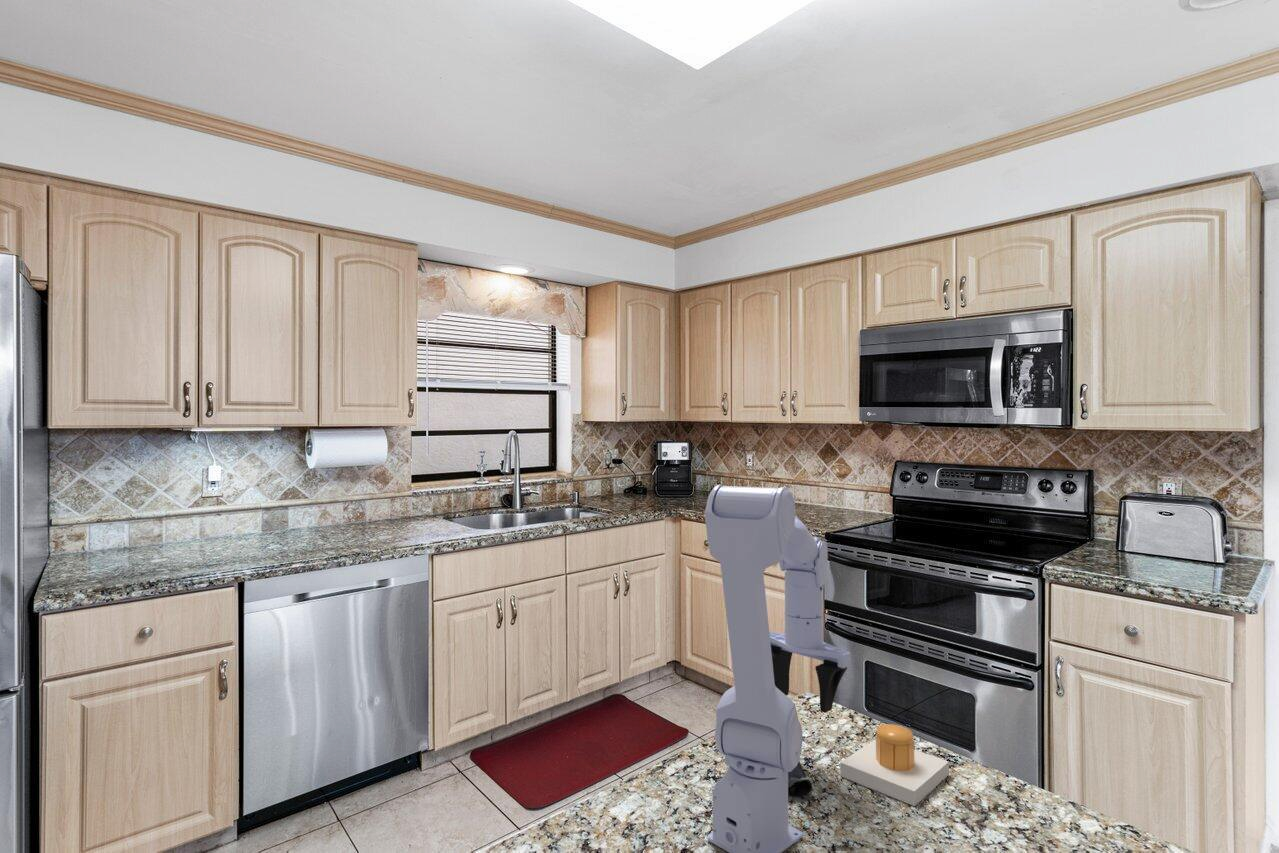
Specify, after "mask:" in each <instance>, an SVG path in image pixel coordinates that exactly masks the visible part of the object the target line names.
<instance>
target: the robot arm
mask: <svg viewBox="0 0 1279 853" xmlns="http://www.w3.org/2000/svg"><path fill="white" fill-rule="evenodd" d="M704 520H705V528H706V537H707V544H708V549H709V550H708V551H709V555H710V556H711V557H712V558H713V559H714V560H716V561H717V562H718V563H719V564H720V573H721V581H722V589H723V598H724V607H725V615H726V624H727V632H728V633H727V634H728V640H729V650H730V655H731V656H730V658H731V666H732V675H733V682H734V685H733V686H731V687H730V688H729V689H727V690H726V691H725V692H724V693H723V694H722V696H721V698H720V699H719V702H718V704H717V707H716V709H715V713H716V714H715V715H716V716H715V717H716V719H715V721H716V722H715V729H714V730H715V731H714V732H715V733H714V740H715V744H716V747H717V750H718V752H719V754H721V755H723V756H724V764H725V765H726V766H728V768H727V770H726V773H725V774H724V775H723V776H722V778H721V779H720V780H719V781H717V783H716V784H715V786H714V788H713V791H712V831H711V832H710V833H708V834H707V841H709V842H710V843H712V844H714V845H715V846H717V847H718V848H721V849H722V850H724V851H726V852H728V853H783V852H784V851H786V850H787V849H788V848H790V847H791V846H792V845H794V844H795V843H796V842H798V841H799V840H800V839H801V838H803V836H804V835H803V831H801V830H799V829H797V828H795V827H794V826H792V825H789V796H788V788H789V786H788V772H791V771H792V770H793V769H794V768H795V767H796V766H797V764H798V762H799V761H800V758H801V754H802V747H803V727H802V726H803V725H802V724H801V722H800V719H799V715H798V710H797V708H796V703H795V702H794V701H793V700H792V699H791V698H790V697H789V694H790V693H789V691H790V670H791V669H790V667H791V662H792V657H793V654H797V655H800V656H803V657H807V658H810V659H811V658H812V659H814V660H818V661H822V662H823V663H820V664H817V665H815V671H816V672H815V673H816V675H817V680H818V686H819V708H820V709H819V710H820V712H821V713H825V714H826V713H829V712H830V711H832V709H833V705H834V699H835V696H836V693H837V690H838V687H839V684H840V682H841V680H842V678H843V676H844V674H845V673H846V671H847V669H848V667H849V666H850V667H851V651H847V650H844V649H841V648H838V647H837V646H836V647H835V646H833V645H832V644H829V643H827V642H825V641H824V605H823V604H824V601H823V600H824V595H823V594H824V592H823V591H824V590H823V589H824V585H825V584H826V575H827V574H826V571H827V564H828V557H829V556H828V553H829V552H828V544H827V542H826V541H825V540H822V539H821V537H819V536H813V534H812V533H811V532H810V530H809V529H808V528H807V527H806V525H805V524H804V523H803V521H802V520H801V519H800V518H799V517H798V515H796V500H795V497H794V494H793V493H792V492H791V490H790V489H789V488H788V487H786V486H780V487H762V486H758V487H757V486H735V485H733V486H731V485H725V484H716V485H715V486H714V487H713V488H712V490H711V491H710V493H709V495H708V497H707V501H706V507H705V510H704ZM777 564H779V568H780V571H782V572H784V633H779V632H778V633H777V632H771V631H770V627H769V617H768V616H769V615H768V606H767V597H766V596H767V595H766V587H765V585H766V584H765V578H764V577H765V576H764V573H765V571H766V569H768V568H770V567H773V566H775V565H777Z"/></svg>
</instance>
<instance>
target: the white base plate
mask: <svg viewBox="0 0 1279 853" xmlns="http://www.w3.org/2000/svg"><path fill="white" fill-rule="evenodd" d="M839 767H840V772H839V774H840V777H842V778H844V779H847V780H849V781H852V782H853V783H856V784H859V785H861V786H864V787H866V788H869V789H871V790H874V791H876V792H879V793H881V794H883V795H886V796H888V797H890V798H893V799H895V800H897V801H900V802H903V803H906V804H907V805H910V806H912V807H915V806H916V805H918V804H919V803H920V802H921V801H922V800H924V798H925V797H927V796H928V795H929V794H930V793H932V791H933V790H934V789H936V788H937V787H938V786H939V785H940V784H941V783H942V782H943V781H944V780H946V779H947V778H948V777H949V776H950V761H947V760H945V759H942V758H939V757H937V756H934V755H931V754H928V753H925V752H922V751H919V750H916V749H914V767H913V768H911V769H910V770H908V771H895V770H892V769H889V768H886V767H884V766H881V765H880V764H879V762H878V761H877V760H876V738H875V739H873V740H872V741H870V742H869V743H868V744H866V745H864V746H862V747H861V748H860V749H858V750H857V751H855V752H853V753H852V754H851V755H849V756H848V757H846V758H845V759H843V760H842V761H840V766H839ZM948 775H949V776H948ZM947 776H948V777H947ZM946 777H947V778H946ZM945 778H946V779H945ZM942 780H943V781H942ZM941 781H942V782H941ZM940 782H941V783H940ZM939 783H940V784H939ZM938 784H939V785H938ZM937 785H938V786H937ZM936 786H937V787H936Z"/></svg>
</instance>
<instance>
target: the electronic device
mask: <svg viewBox="0 0 1279 853" xmlns="http://www.w3.org/2000/svg"><path fill="white" fill-rule="evenodd" d="M792 787H793V788H795V789H797V790H798V791H797V792H798V794H796V795H795V797H803V798H806V797H808V795H809V794H810V793H811V792H813V791H814V789H813V788H814V787H813V784H812V781H811V780H810V779H809V778H807V776H806V771H804V769H803V766H802V765H801V762H800V760H799V762H798V764H797V766H796V767H795V768H794V769H793V770H792V771H791V772H788V797H793V796H794V793H795V792H796V790H793V788H792Z"/></svg>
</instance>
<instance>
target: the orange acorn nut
mask: <svg viewBox="0 0 1279 853" xmlns="http://www.w3.org/2000/svg"><path fill="white" fill-rule="evenodd" d="M875 739H876V760H877V761H878V762H879V764H880V765H881V766H884V767H886V768H889V769H892V770H895V771H908V770H910V769H911V768H913V767H914V750H915V740H914V733H913V731H911V729H909V728H907V727H905V726H902V725H898V724H893V723H885V724H880V725H878V726H877V727H876V734H875Z"/></svg>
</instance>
